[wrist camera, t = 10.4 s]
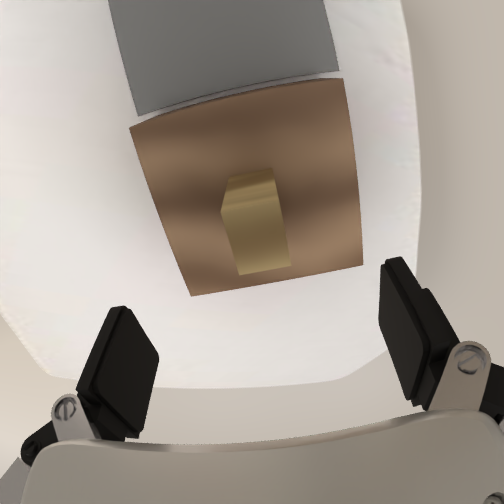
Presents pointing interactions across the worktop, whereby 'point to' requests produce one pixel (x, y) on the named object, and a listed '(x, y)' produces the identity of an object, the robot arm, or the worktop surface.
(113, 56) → the worktop surface
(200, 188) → the square lid with knob
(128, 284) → the worktop surface
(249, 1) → the rubber mat
